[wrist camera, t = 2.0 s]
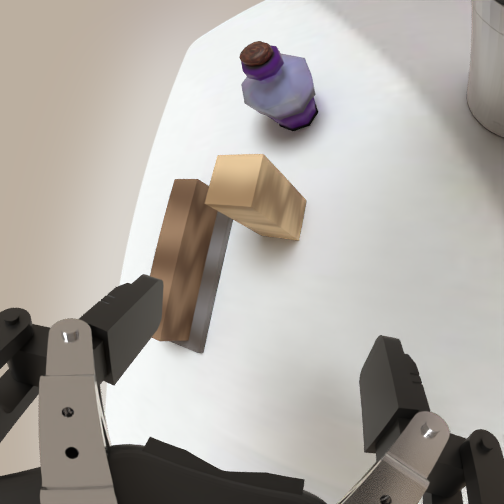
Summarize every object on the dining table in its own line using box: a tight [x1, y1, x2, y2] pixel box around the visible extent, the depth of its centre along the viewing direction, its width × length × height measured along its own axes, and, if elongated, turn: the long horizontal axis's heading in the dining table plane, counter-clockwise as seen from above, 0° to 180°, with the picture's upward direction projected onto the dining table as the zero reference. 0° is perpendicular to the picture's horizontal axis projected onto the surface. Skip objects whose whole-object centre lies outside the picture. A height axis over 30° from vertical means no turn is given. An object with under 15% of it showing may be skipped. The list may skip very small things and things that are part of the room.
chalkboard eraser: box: [150, 179, 233, 353], centre depth 36 cm, size 20×7×6 cm, turn 166°
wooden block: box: [205, 154, 306, 240], centre depth 30 cm, size 4×4×11 cm
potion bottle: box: [240, 41, 318, 131], centre depth 32 cm, size 9×9×12 cm
